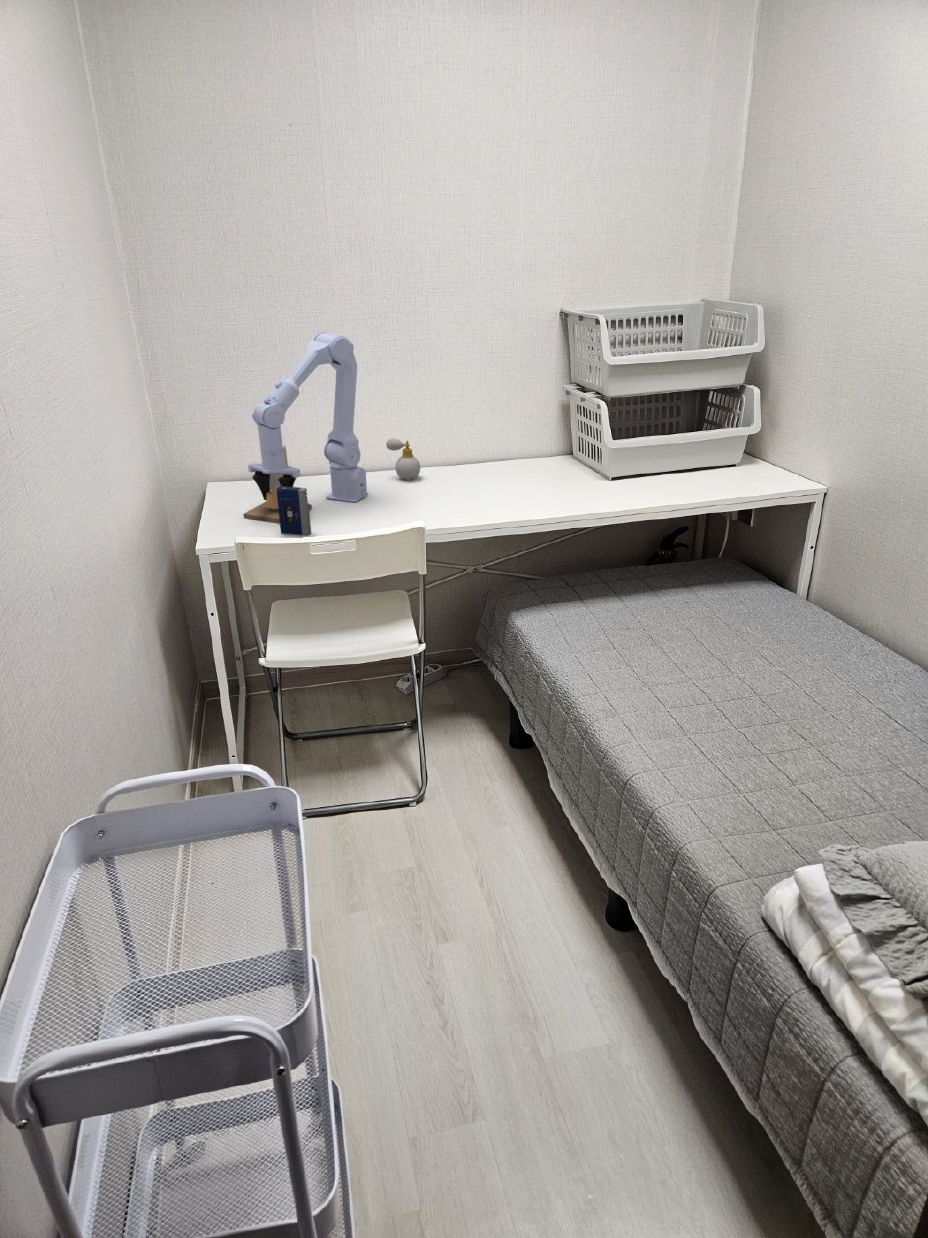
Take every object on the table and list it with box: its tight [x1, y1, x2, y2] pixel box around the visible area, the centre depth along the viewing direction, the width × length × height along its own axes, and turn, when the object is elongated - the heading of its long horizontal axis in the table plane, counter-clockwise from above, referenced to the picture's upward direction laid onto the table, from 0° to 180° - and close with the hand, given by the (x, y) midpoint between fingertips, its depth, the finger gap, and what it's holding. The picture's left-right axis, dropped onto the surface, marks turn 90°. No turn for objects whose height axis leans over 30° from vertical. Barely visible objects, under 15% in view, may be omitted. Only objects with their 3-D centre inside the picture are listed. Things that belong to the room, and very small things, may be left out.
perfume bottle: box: [385, 438, 421, 481], centre depth 247 cm, size 8×10×12 cm
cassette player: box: [276, 486, 312, 536], centre depth 206 cm, size 7×2×12 cm, turn 78°
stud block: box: [243, 500, 313, 524], centre depth 221 cm, size 13×13×5 cm
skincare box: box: [270, 445, 289, 491], centre depth 239 cm, size 6×4×12 cm
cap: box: [266, 490, 278, 509], centre depth 220 cm, size 5×5×4 cm
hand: (277, 500), depth 220 cm, fingers closed on cap, 6 cm apart
